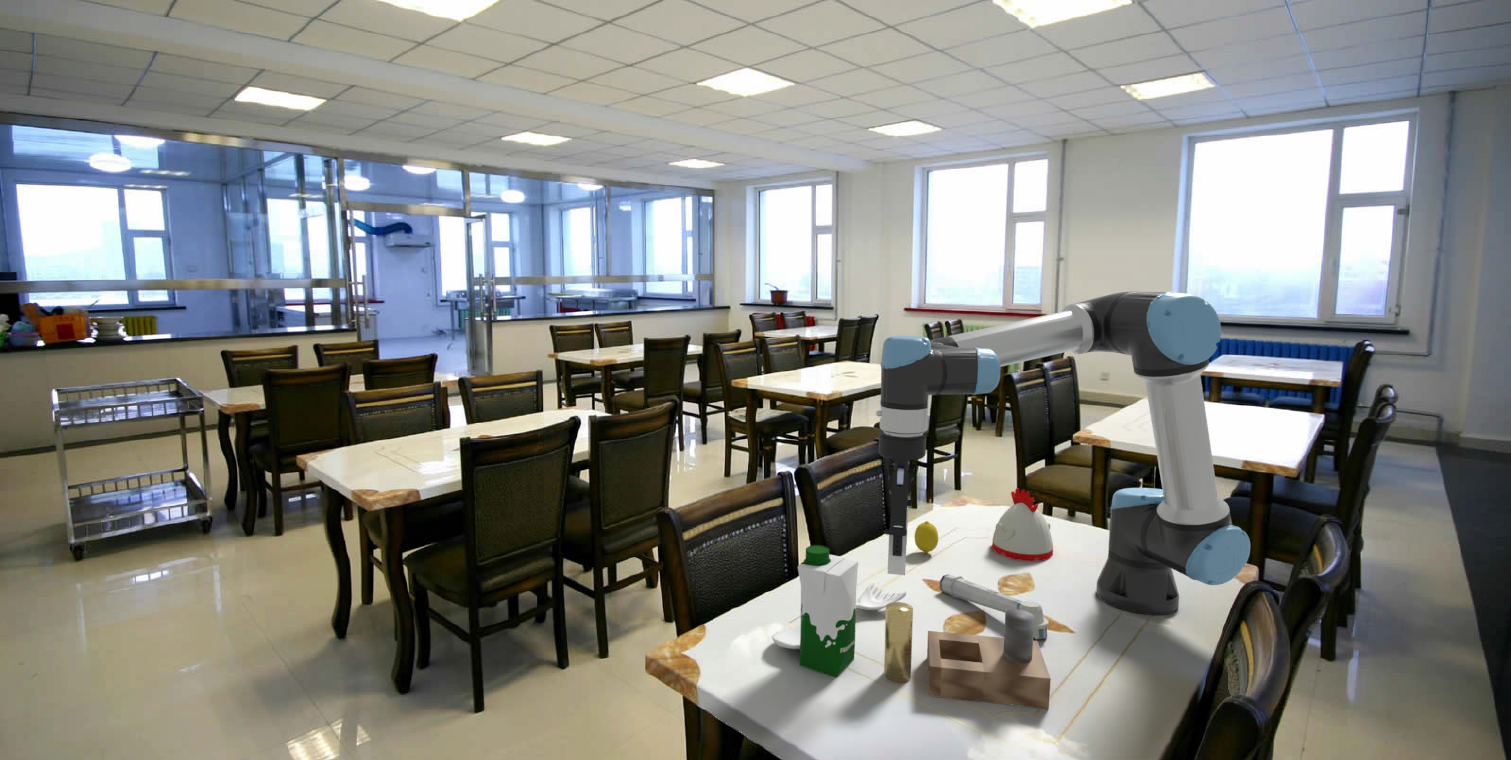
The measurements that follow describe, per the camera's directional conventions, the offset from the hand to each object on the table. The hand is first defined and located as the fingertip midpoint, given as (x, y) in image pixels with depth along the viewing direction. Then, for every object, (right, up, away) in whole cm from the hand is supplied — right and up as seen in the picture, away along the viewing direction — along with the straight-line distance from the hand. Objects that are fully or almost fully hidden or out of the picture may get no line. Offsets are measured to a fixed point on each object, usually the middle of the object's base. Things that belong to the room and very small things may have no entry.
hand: (897, 557), depth 123 cm
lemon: (+17, -12, +55) cm, 59 cm away
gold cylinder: (0, -20, +1) cm, 20 cm away
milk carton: (-11, -19, +5) cm, 23 cm away
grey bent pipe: (+23, -17, +24) cm, 37 cm away
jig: (+14, -20, -1) cm, 25 cm away
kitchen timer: (+41, -12, +57) cm, 72 cm away
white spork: (-8, -17, +18) cm, 26 cm away
